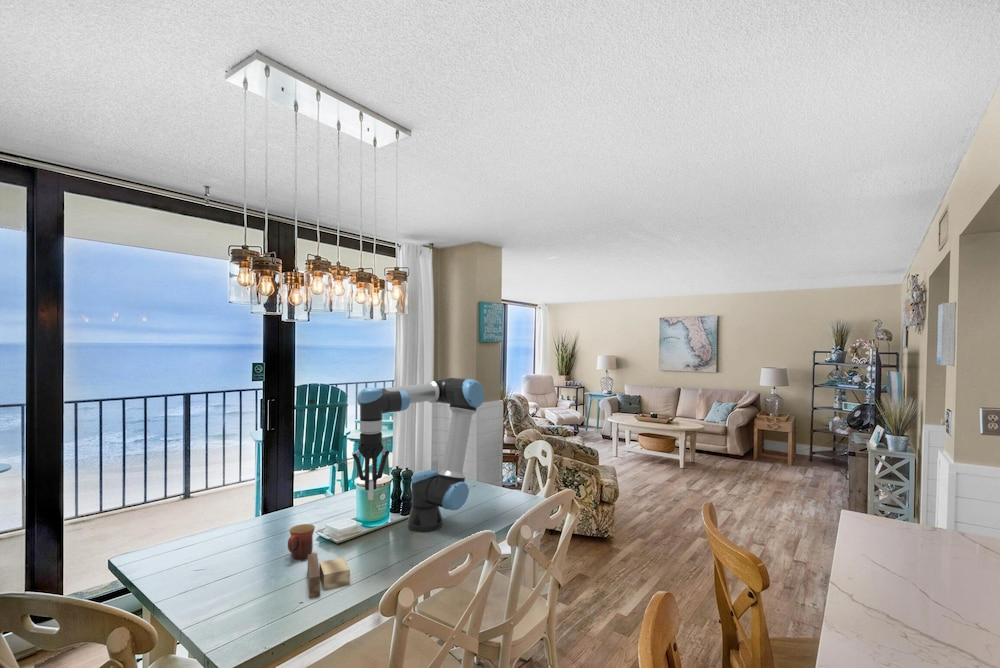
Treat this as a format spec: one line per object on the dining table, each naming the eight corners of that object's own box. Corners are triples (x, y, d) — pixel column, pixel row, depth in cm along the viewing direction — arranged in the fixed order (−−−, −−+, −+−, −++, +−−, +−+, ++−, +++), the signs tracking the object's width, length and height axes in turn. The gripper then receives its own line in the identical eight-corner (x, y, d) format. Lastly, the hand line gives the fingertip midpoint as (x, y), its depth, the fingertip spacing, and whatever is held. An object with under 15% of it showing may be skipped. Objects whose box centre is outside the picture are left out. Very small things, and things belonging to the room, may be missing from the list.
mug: (298, 550, 182) (298, 523, 182) (319, 552, 180) (319, 525, 180) (277, 564, 170) (278, 535, 170) (299, 567, 168) (300, 537, 169)
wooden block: (316, 570, 166) (317, 553, 166) (319, 595, 149) (320, 576, 149) (307, 572, 165) (307, 554, 165) (309, 597, 148) (309, 578, 148)
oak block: (343, 571, 166) (344, 557, 166) (349, 584, 157) (349, 569, 157) (319, 577, 162) (319, 562, 162) (323, 590, 153) (324, 574, 153)
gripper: (387, 428, 176) (387, 493, 175) (350, 431, 171) (350, 498, 170) (391, 432, 169) (391, 499, 169) (353, 435, 164) (352, 504, 163)
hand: (370, 498), depth 169 cm, fingers closed
